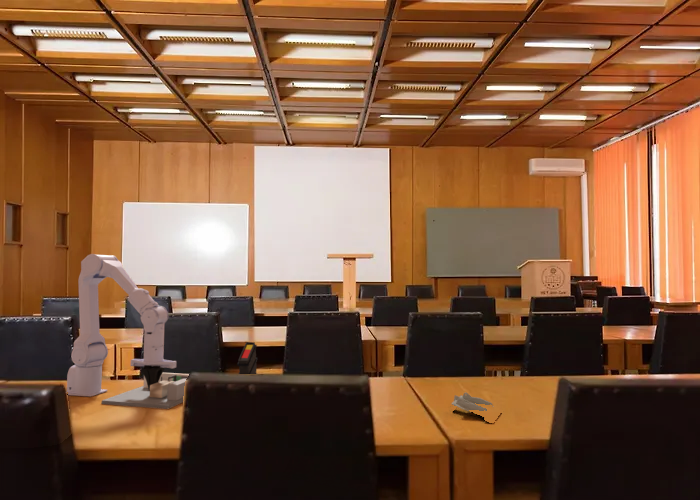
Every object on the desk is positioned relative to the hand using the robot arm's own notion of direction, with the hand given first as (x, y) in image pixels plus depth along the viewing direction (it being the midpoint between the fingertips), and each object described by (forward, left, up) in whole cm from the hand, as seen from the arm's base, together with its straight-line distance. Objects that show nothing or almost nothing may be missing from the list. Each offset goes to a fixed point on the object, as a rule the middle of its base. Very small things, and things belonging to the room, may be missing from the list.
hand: (152, 390), depth 156 cm
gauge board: (+1, 0, -2) cm, 2 cm away
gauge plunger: (+3, +2, -1) cm, 4 cm away
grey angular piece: (+97, +7, -3) cm, 97 cm away
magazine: (+22, +20, -2) cm, 30 cm away
